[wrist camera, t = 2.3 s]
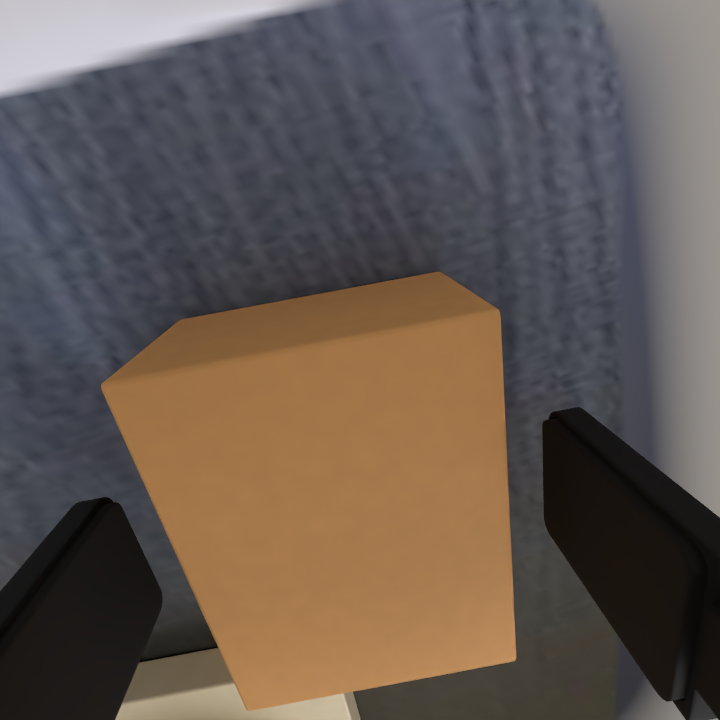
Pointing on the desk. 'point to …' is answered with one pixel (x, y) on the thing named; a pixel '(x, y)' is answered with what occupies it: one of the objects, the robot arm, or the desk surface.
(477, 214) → the desk surface
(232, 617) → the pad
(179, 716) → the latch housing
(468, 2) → the desk surface
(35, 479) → the desk surface
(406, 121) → the desk surface
